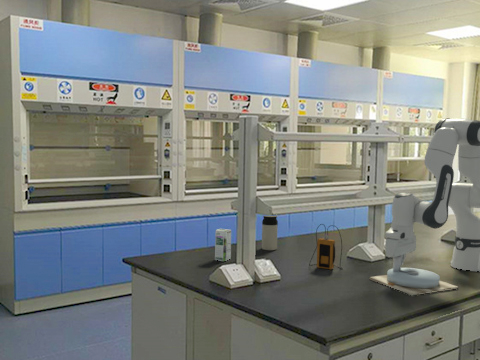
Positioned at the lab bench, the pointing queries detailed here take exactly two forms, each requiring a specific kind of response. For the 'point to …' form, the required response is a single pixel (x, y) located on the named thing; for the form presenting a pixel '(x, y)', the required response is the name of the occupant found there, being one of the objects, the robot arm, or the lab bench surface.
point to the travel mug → (269, 233)
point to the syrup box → (222, 244)
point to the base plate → (411, 290)
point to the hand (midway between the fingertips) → (400, 264)
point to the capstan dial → (411, 276)
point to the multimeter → (326, 252)
